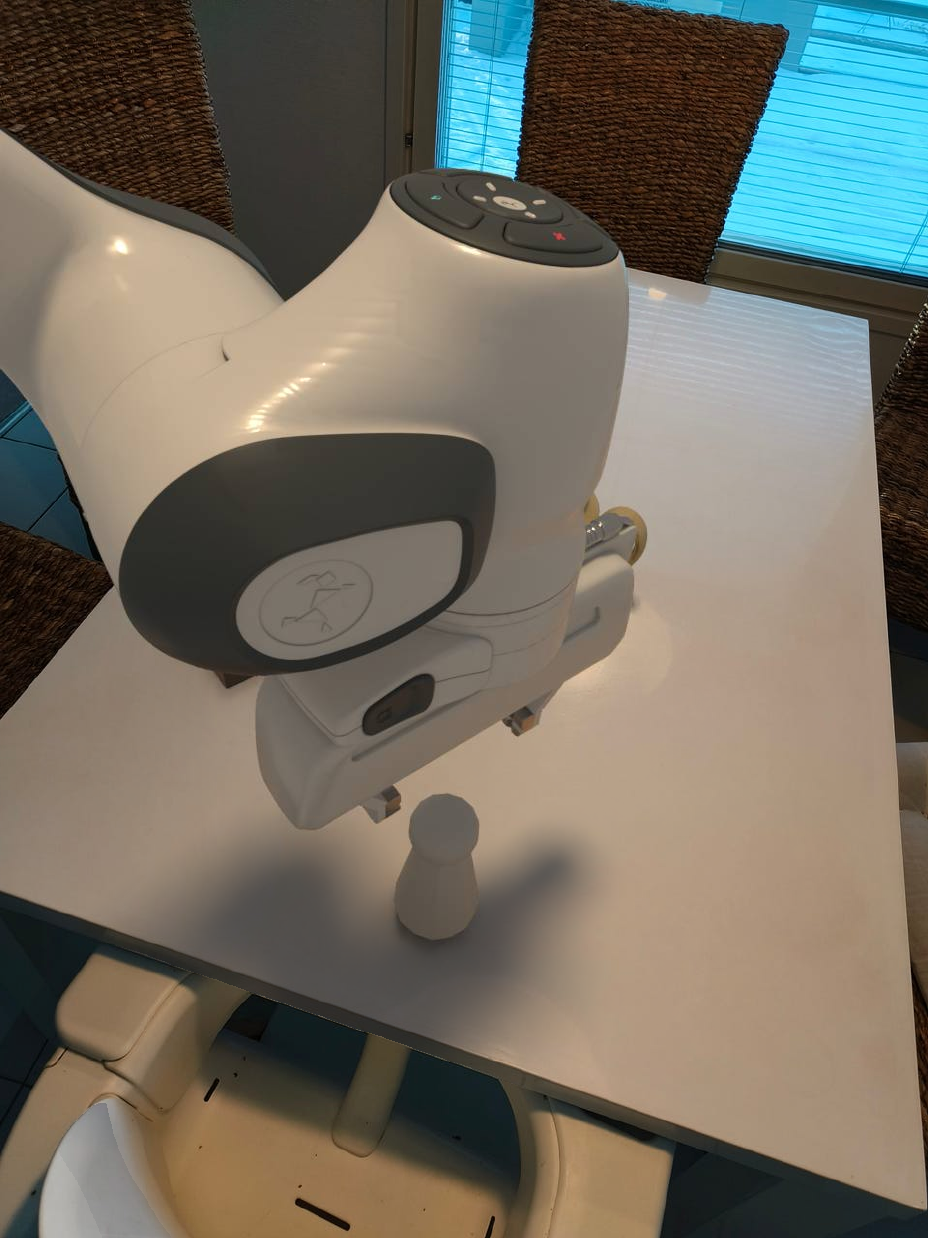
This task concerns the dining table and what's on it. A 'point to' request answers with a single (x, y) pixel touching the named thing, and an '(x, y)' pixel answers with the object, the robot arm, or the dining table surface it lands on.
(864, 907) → the dining table surface
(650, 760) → the dining table surface
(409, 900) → the salt shaker
